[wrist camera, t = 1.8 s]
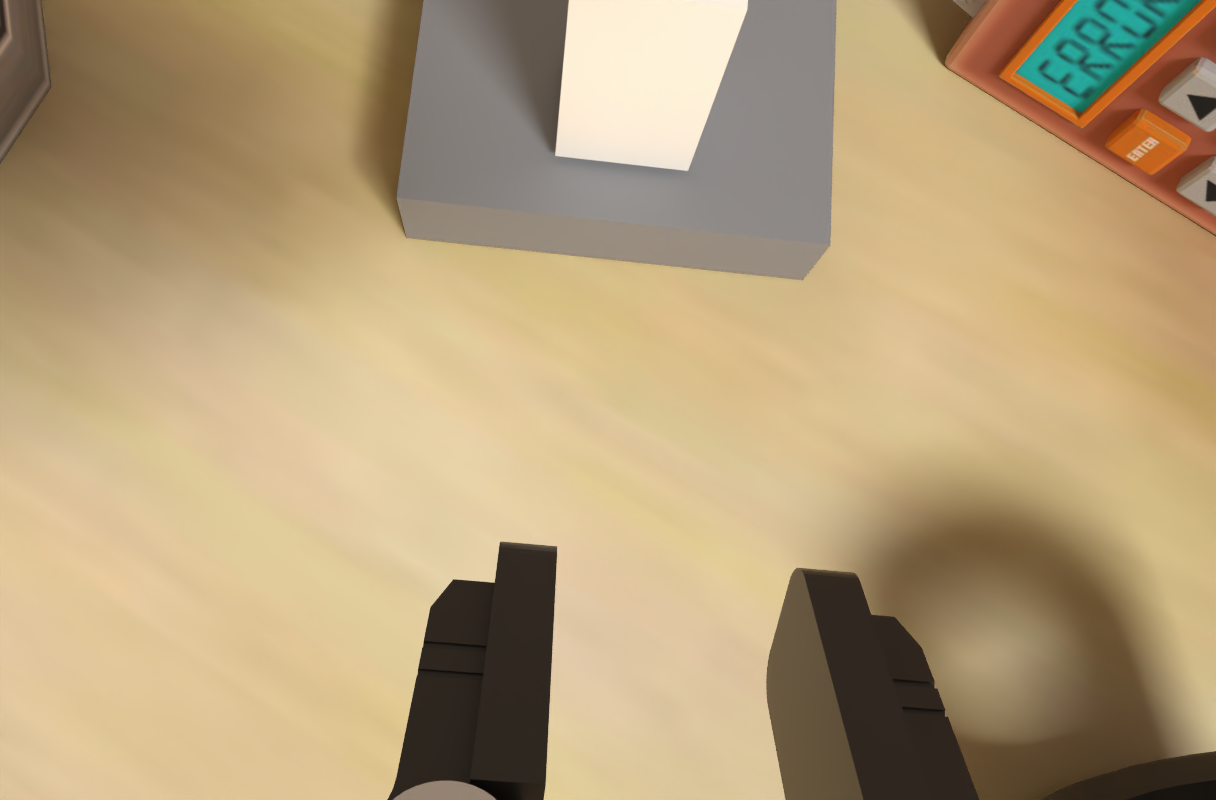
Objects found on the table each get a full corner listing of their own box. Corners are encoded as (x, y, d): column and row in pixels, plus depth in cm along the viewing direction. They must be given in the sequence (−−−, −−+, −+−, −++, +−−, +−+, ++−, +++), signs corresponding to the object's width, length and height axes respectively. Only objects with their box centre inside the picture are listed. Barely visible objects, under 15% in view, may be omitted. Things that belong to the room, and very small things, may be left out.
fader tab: (695, 67, 32) (757, -127, 24) (689, 171, 31) (751, 5, 23) (563, 51, 31) (581, -151, 23) (553, 155, 30) (568, -18, 23)
